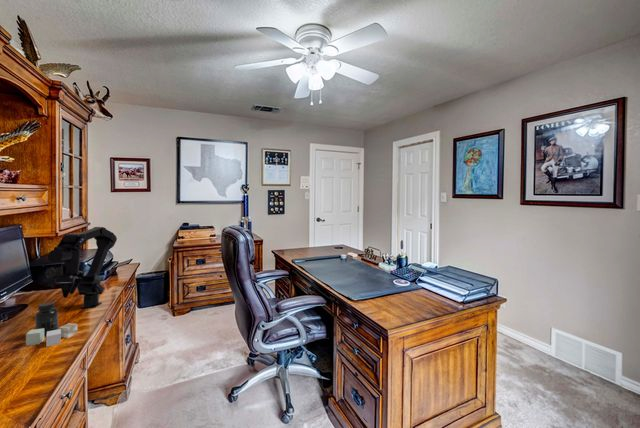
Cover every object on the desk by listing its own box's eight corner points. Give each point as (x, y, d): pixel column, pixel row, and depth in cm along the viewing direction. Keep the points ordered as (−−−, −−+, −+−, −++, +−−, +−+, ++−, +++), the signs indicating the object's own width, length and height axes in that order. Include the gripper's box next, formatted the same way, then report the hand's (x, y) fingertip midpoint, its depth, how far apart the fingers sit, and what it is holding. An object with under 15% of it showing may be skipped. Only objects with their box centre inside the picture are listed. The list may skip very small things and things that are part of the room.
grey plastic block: (47, 341, 114) (47, 331, 113) (60, 338, 116) (60, 328, 116) (46, 346, 110) (46, 336, 110) (60, 343, 112) (60, 333, 112)
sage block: (30, 341, 113) (30, 329, 113) (44, 339, 115) (44, 328, 115) (26, 346, 110) (25, 334, 110) (40, 344, 112) (39, 332, 111)
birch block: (68, 332, 121) (68, 323, 121) (77, 333, 121) (77, 323, 121) (59, 337, 117) (59, 327, 117) (68, 338, 117) (68, 328, 117)
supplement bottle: (56, 327, 125) (56, 299, 124) (59, 332, 121) (59, 304, 120) (34, 333, 120) (33, 304, 119) (36, 338, 115) (36, 308, 115)
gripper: (55, 259, 140) (52, 293, 138) (40, 263, 123) (36, 301, 122) (85, 259, 145) (82, 291, 143) (74, 262, 128) (71, 299, 127)
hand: (68, 295), depth 134 cm, fingers open, 9 cm apart
